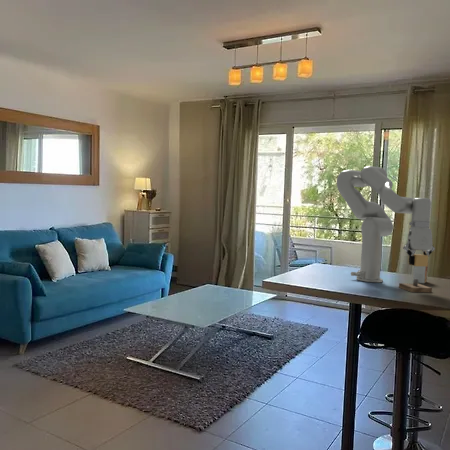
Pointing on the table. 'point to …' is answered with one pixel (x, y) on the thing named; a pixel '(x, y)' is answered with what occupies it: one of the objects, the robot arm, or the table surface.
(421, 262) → the cap
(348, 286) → the table surface
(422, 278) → the small box
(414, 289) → the post plinth
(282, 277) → the table surface
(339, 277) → the table surface
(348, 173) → the robot arm
